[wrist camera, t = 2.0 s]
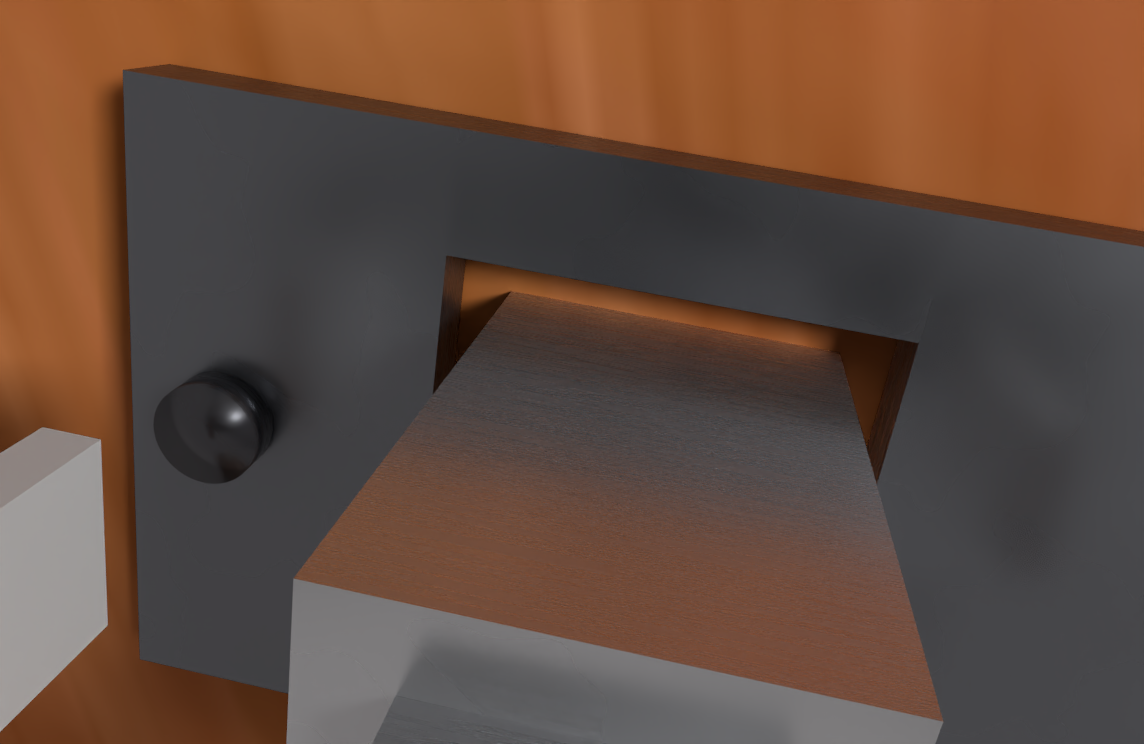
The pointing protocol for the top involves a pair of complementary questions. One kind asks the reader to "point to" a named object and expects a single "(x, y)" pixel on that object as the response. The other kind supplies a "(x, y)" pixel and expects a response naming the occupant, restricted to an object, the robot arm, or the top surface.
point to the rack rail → (643, 263)
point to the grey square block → (615, 554)
